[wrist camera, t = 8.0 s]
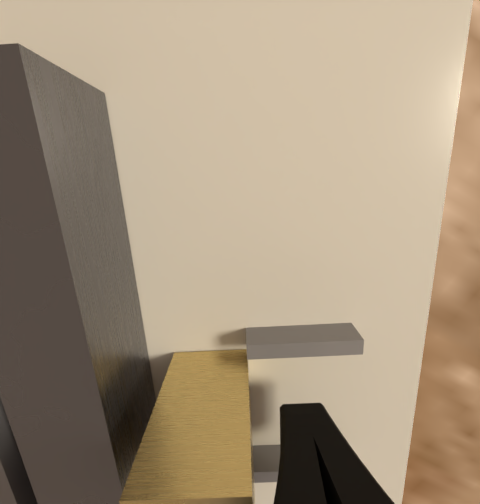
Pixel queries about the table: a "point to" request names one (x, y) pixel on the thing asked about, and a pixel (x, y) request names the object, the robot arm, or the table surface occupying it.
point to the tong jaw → (67, 288)
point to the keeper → (197, 435)
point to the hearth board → (275, 194)
